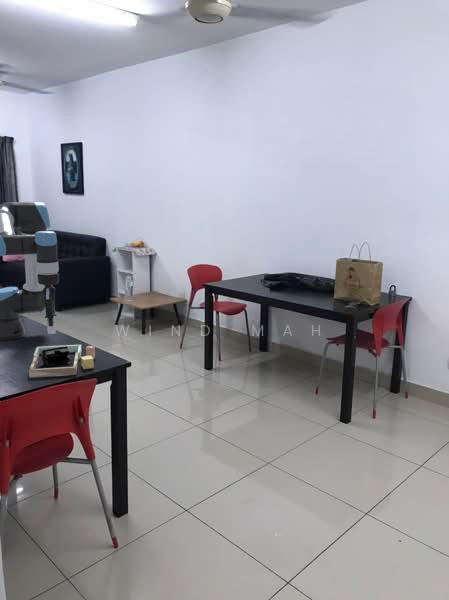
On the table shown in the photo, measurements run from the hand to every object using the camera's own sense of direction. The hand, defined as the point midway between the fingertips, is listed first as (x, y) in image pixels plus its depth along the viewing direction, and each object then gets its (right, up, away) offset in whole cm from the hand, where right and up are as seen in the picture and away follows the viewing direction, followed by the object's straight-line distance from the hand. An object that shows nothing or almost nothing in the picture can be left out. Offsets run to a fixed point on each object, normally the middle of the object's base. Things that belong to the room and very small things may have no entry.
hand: (51, 333), depth 183 cm
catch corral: (-5, -11, +21) cm, 24 cm away
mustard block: (+11, -14, +10) cm, 21 cm away
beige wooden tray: (-2, -15, +8) cm, 17 cm away
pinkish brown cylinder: (+9, -12, +20) cm, 25 cm away
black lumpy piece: (-3, -14, +13) cm, 19 cm away
